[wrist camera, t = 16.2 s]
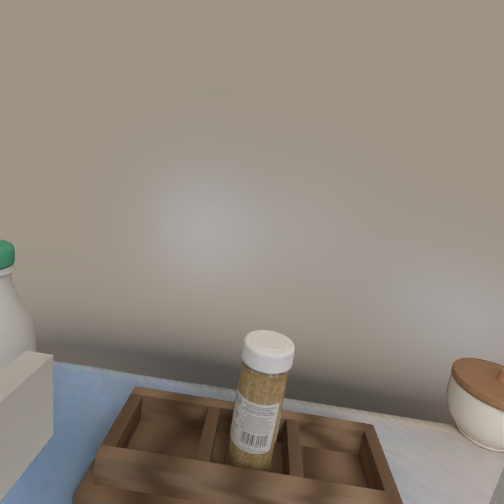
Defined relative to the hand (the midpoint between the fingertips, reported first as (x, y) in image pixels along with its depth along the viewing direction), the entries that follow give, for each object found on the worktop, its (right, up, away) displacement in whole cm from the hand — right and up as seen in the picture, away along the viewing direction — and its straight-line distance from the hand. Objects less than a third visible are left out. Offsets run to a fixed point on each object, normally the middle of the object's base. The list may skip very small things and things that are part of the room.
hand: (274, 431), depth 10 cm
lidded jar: (+29, -18, +37) cm, 50 cm away
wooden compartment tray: (-1, -17, +25) cm, 30 cm away
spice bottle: (-1, -16, +25) cm, 30 cm away
